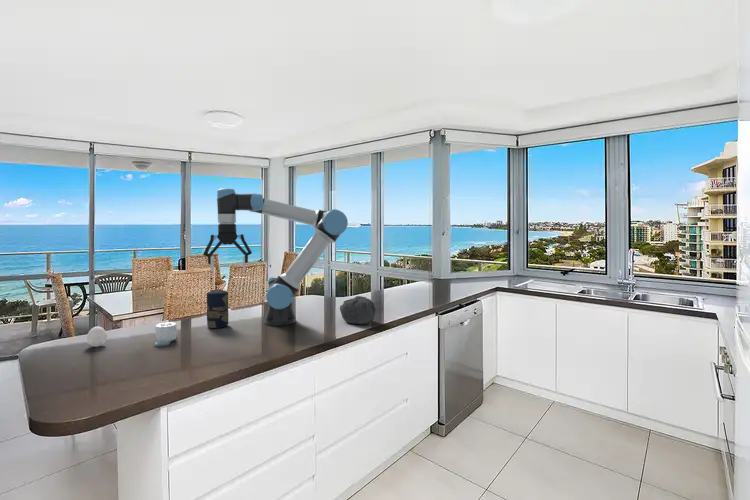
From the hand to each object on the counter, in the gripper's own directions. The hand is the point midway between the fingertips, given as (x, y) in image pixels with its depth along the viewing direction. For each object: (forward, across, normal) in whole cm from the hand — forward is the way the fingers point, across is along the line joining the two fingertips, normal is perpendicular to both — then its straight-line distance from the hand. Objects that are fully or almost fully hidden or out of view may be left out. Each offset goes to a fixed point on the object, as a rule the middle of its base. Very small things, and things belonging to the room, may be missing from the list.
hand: (228, 270), depth 169 cm
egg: (+27, +48, +11) cm, 56 cm away
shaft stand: (+27, +24, +10) cm, 38 cm away
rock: (+30, -61, -5) cm, 68 cm away
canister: (+28, +7, -10) cm, 30 cm away
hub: (+26, +24, +10) cm, 37 cm away
